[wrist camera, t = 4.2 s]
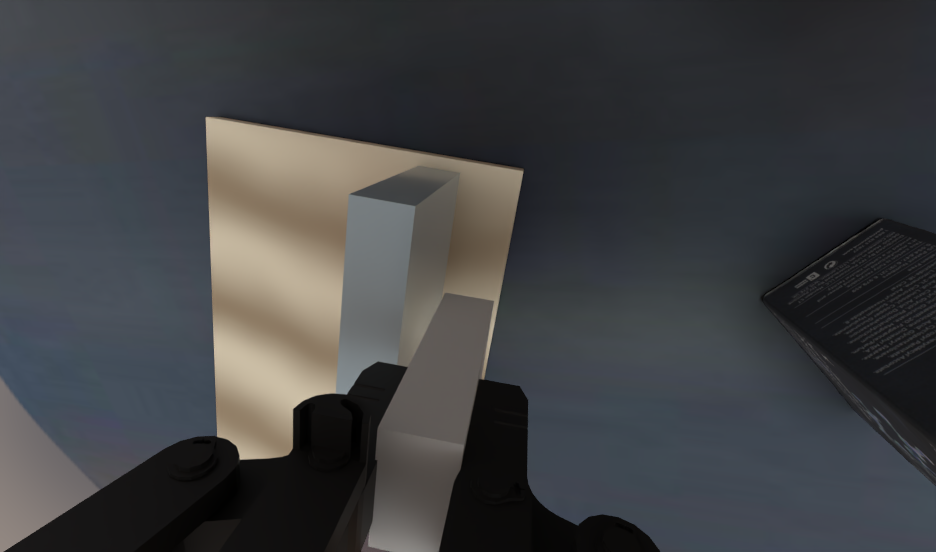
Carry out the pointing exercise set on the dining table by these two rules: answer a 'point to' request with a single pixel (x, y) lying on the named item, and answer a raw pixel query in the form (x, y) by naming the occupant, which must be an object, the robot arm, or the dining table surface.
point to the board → (314, 261)
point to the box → (874, 331)
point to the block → (393, 268)
